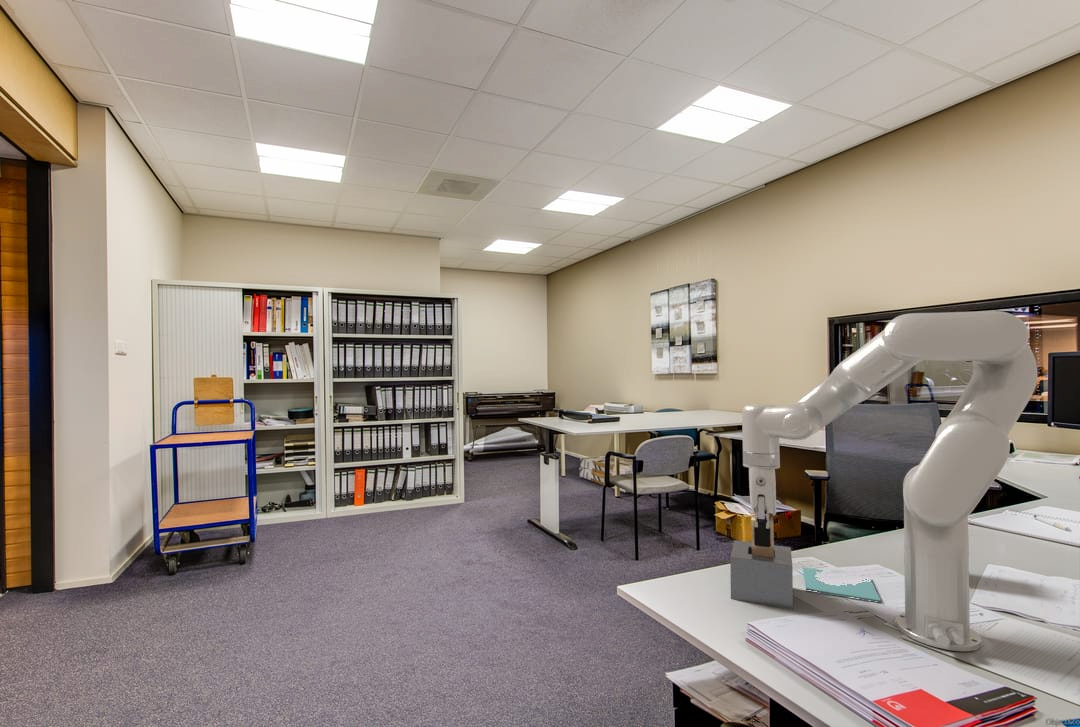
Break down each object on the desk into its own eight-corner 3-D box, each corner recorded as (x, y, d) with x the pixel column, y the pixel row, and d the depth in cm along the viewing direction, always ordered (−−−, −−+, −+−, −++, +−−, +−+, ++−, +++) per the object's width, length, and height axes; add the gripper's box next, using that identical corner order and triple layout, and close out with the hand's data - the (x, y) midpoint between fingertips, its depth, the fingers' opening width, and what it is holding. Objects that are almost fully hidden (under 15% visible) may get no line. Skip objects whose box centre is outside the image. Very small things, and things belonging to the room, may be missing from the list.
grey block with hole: (792, 609, 105) (792, 565, 105) (730, 598, 110) (730, 556, 110) (790, 587, 116) (790, 547, 116) (734, 578, 121) (734, 540, 121)
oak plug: (774, 573, 110) (773, 522, 110) (752, 570, 112) (751, 519, 112) (774, 566, 114) (773, 517, 114) (752, 563, 116) (751, 515, 116)
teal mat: (880, 603, 108) (880, 600, 108) (806, 591, 114) (806, 588, 114) (869, 579, 120) (869, 576, 120) (802, 569, 126) (802, 567, 126)
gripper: (780, 467, 104) (782, 557, 104) (779, 455, 119) (781, 534, 119) (740, 464, 107) (742, 552, 107) (744, 453, 123) (746, 530, 122)
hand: (762, 541), depth 113 cm, fingers closed on oak plug, 4 cm apart
